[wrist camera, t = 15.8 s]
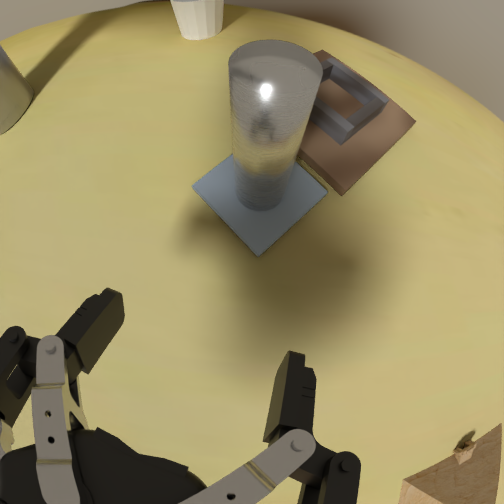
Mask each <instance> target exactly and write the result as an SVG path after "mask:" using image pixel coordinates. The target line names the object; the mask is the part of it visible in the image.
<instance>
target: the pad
mask: <svg viewBox="0 0 504 504" xmlns="http://www.w3.org/2000/svg"><path fill="white" fill-rule="evenodd" d="M192 188H193V189H194V190H195V191H196V193H197V194H198V195H199V196H200V197H201V198H202V199H203V200H204V201H205V202H206V203H207V204H208V205H209V206H210V207H211V208H212V209H213V210H214V211H215V213H216V214H217V215H218V216H219V217H220V218H221V219H222V220H223V221H224V222H225V223H226V224H227V225H228V226H229V227H230V228H231V229H232V230H233V231H234V233H235V234H236V235H237V236H238V237H239V238H240V239H241V240H242V241H243V242H244V243H245V244H246V245H247V246H248V247H249V248H250V249H251V250H252V251H253V253H254V254H255V255H256V256H257V257H259V256H260V255H261V254H262V253H263V252H265V251H266V250H267V249H268V248H269V247H270V246H271V245H272V244H273V243H274V242H276V241H277V240H278V239H279V238H280V237H281V236H282V235H283V234H284V233H285V232H286V231H288V230H289V229H290V228H291V227H292V226H293V225H294V224H295V223H296V222H297V221H298V220H299V219H301V218H302V217H303V216H304V215H305V214H306V213H307V212H308V211H309V210H310V209H311V208H313V207H314V206H315V205H316V204H317V203H318V202H319V201H320V200H321V199H322V198H323V197H324V196H325V195H326V194H327V193H328V191H327V190H325V189H324V188H323V187H322V186H321V185H320V184H319V183H318V182H317V181H316V180H315V179H314V178H313V177H312V176H311V175H310V174H309V173H308V172H306V171H305V170H304V169H303V168H302V167H301V166H300V165H299V164H298V163H297V162H295V163H294V166H293V169H292V172H291V175H290V178H289V181H288V184H287V187H286V190H285V193H284V196H283V199H282V200H281V202H280V203H279V204H278V205H277V206H276V207H274V208H273V209H270V210H267V211H254V210H251V209H248V208H246V207H245V206H244V205H242V204H241V202H240V201H239V200H238V198H237V196H236V192H235V178H234V161H233V154H232V155H230V156H229V157H228V158H226V159H225V160H224V161H222V162H221V163H220V164H219V165H217V166H216V167H215V168H213V169H212V170H211V171H210V172H208V173H207V174H206V175H205V176H203V177H202V178H201V179H200V180H198V181H197V182H196V183H195V184H193V185H192Z"/></svg>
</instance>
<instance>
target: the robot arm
mask: <svg viewBox="0 0 504 504" xmlns="http://www.w3.org/2000/svg"><path fill="white" fill-rule="evenodd" d="M33 94H34V91H33V89H32V87H31V86H30V85H29V83H28V82H27V81H26V80H25V78H24V77H23V76H22V74H21V73H20V72H19V70H18V69H17V68H16V66H15V65H14V63H13V62H12V61H11V59H10V58H9V57H8V55H7V54H6V52H5V51H4V50H3V48H2V47H1V45H0V134H2V133H4V132H6V131H7V130H8V129H9V128H11V127H12V126H13V125H14V124H15V123H16V122H17V121H18V119H19V118H20V117H21V116H22V114H23V113H24V112H25V110H26V109H27V107H28V106H29V104H30V102H31V100H32V98H33ZM124 317H125V313H124V306H123V297H122V294H121V293H120V292H117V291H115V290H113V289H110V288H106V289H105V290H104V291H103V292H102V293H101V294H100V295H97V294H95V295H93V296H91V297H89V298H87V299H86V300H85V301H84V302H83V304H82V305H81V306H80V308H78V309H77V310H76V311H75V313H74V314H73V315H72V316H71V317H70V318H69V320H68V321H67V322H66V323H65V324H64V326H63V327H62V328H61V329H60V330H59V332H58V333H57V334H56V335H49V336H45V337H44V338H42V339H39V338H35V337H31V336H27V335H26V333H25V331H24V329H23V328H21V327H19V326H13V327H10V328H8V329H7V330H6V331H5V333H4V334H3V335H2V336H1V338H0V504H256V503H257V502H259V501H260V500H261V499H263V498H264V497H265V496H267V495H268V494H269V493H270V492H271V491H273V490H274V489H275V487H276V486H277V485H278V484H279V483H281V482H282V481H283V480H284V479H285V478H287V477H288V476H289V477H291V478H293V479H295V480H297V481H299V482H301V483H302V486H301V491H300V495H299V499H298V503H297V504H356V503H357V496H358V488H359V480H360V471H361V463H360V460H359V458H358V457H357V456H356V455H355V454H353V453H351V452H348V451H344V452H340V453H336V452H334V451H331V450H329V449H327V448H325V447H323V446H321V445H320V444H319V443H318V442H317V441H316V440H315V438H314V435H313V431H312V428H313V417H314V405H315V392H316V391H315V390H316V376H315V374H314V371H313V368H308V367H304V365H305V354H301V353H297V352H293V351H288V352H287V354H286V356H285V357H284V359H283V361H282V363H281V365H280V367H279V368H278V371H277V374H276V377H275V381H274V387H273V392H272V397H271V403H270V408H269V413H268V418H267V423H266V428H265V432H264V437H263V442H267V443H269V445H268V448H267V449H266V450H264V451H263V452H262V453H260V454H259V455H257V456H256V457H255V458H253V459H252V460H250V461H249V462H247V463H245V464H244V465H242V466H241V467H239V468H238V469H236V470H235V471H233V472H232V473H230V474H229V475H227V476H226V477H224V478H222V479H221V480H219V481H218V482H216V483H214V484H213V485H211V486H209V487H208V488H207V486H206V485H205V484H204V483H203V481H202V480H201V479H199V478H198V477H197V476H196V475H195V474H193V473H192V472H190V471H188V468H189V467H187V466H184V465H181V464H179V463H176V462H173V461H170V460H168V459H165V458H159V457H153V456H147V455H142V454H139V453H137V452H135V451H134V450H133V449H131V448H130V447H129V446H127V445H126V444H125V443H124V442H122V441H121V440H120V439H119V438H117V437H115V436H113V435H111V434H110V433H108V432H106V431H104V430H102V429H100V428H98V427H97V428H96V430H89V428H88V424H87V420H86V417H85V415H84V412H83V407H82V401H81V393H80V385H79V377H78V375H79V373H80V372H81V371H83V372H85V373H87V374H89V373H90V371H91V370H92V368H93V367H94V365H95V364H96V362H97V361H98V359H99V358H100V356H101V355H102V353H103V352H104V350H105V349H106V347H107V346H108V344H109V343H110V342H111V340H112V339H113V337H114V336H115V334H116V333H117V332H118V330H119V329H120V327H121V326H122V324H123V321H124ZM16 365H17V366H16ZM15 366H16V367H15ZM14 368H15V369H14ZM13 369H14V370H13ZM12 371H13V372H12ZM11 372H12V373H11ZM10 374H11V375H10ZM9 375H10V376H9ZM8 377H9V378H8ZM7 379H8V380H7ZM30 394H31V398H32V416H33V428H34V437H35V444H33V445H29V446H26V447H23V448H19V449H16V450H12V449H11V445H12V444H13V443H14V437H13V432H12V427H13V425H14V423H15V421H16V419H17V417H18V416H19V414H20V412H21V410H22V408H23V407H24V405H25V403H26V401H27V400H28V398H29V396H30Z"/></svg>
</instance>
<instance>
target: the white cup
mask: <svg viewBox="0 0 504 504" xmlns="http://www.w3.org/2000/svg"><path fill="white" fill-rule="evenodd" d="M170 1H171V4H172V7H173V10H174V13H175V16H176V19H177V22H178V26H179V29H180V32H181V35H182V36H183V37H184V38H185V39H189V40H202V39H208V38H211V37H213V36H216V35H217V34H219V33H220V32H221V30H222V22H223V6H224V0H170Z"/></svg>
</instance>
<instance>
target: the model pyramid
mask: <svg viewBox="0 0 504 504" xmlns="http://www.w3.org/2000/svg"><path fill="white" fill-rule="evenodd" d="M501 437H502V427H501V423H500V424H499V425H498V426H496V427H495V428H494V429H492V430H491V431H490V432H488V433H487V434H485V435H484V436H482V437H481V438H479V439H478V440H476V441H475V442H473V441H470V440H469V441H467V442H465V446H464V449H460V448H458V447H457V448H455V450H453V453H454V454H453V455H452V456H450V457H448V458H446V459H445V460H443V461H441V462H439V463H437V464H435V465H433V466H431V467H429V468H427V469H425V470H423V471H421V472H419V473H416V474H414V475H412V476H410V477H407V478H405V479H403V482H402V488H401V493H400V499H399V503H398V504H495V501H496V496H497V489H498V482H499V473H500V461H501Z"/></svg>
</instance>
